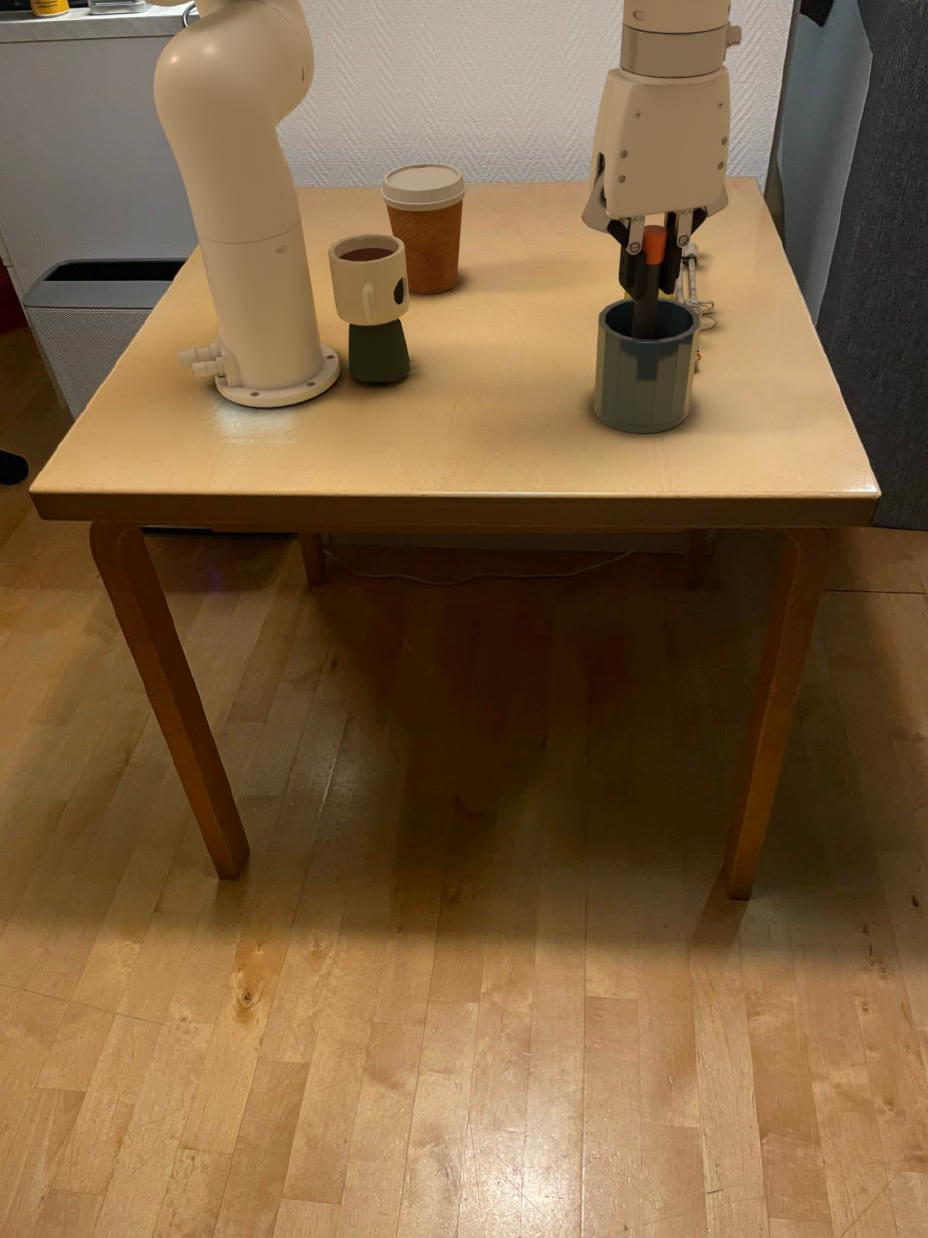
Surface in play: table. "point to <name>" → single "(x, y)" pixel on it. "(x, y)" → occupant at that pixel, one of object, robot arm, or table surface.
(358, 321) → the character mug
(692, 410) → the table surface
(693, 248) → the flamethrower
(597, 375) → the pencil cup
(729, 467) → the table surface
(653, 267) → the marker
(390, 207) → the disposable coffee cup
